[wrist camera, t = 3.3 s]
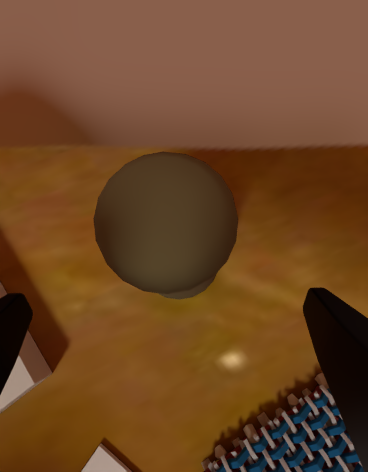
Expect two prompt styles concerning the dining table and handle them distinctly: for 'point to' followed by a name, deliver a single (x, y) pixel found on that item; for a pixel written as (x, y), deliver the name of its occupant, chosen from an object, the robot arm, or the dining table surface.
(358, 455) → the robot arm
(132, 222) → the brown tapered knobbed post
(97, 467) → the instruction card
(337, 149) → the dining table surface
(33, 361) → the tower base
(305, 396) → the woven mat
